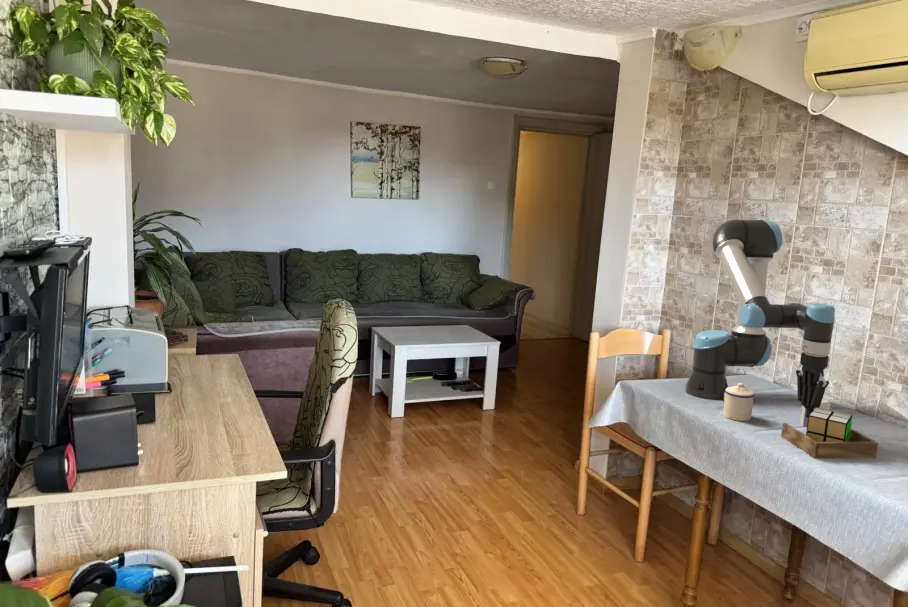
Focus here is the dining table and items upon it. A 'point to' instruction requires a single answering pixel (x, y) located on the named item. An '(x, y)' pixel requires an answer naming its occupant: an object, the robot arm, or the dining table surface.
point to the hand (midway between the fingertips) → (805, 426)
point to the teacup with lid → (738, 403)
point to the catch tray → (832, 445)
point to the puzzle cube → (828, 426)
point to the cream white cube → (824, 405)
